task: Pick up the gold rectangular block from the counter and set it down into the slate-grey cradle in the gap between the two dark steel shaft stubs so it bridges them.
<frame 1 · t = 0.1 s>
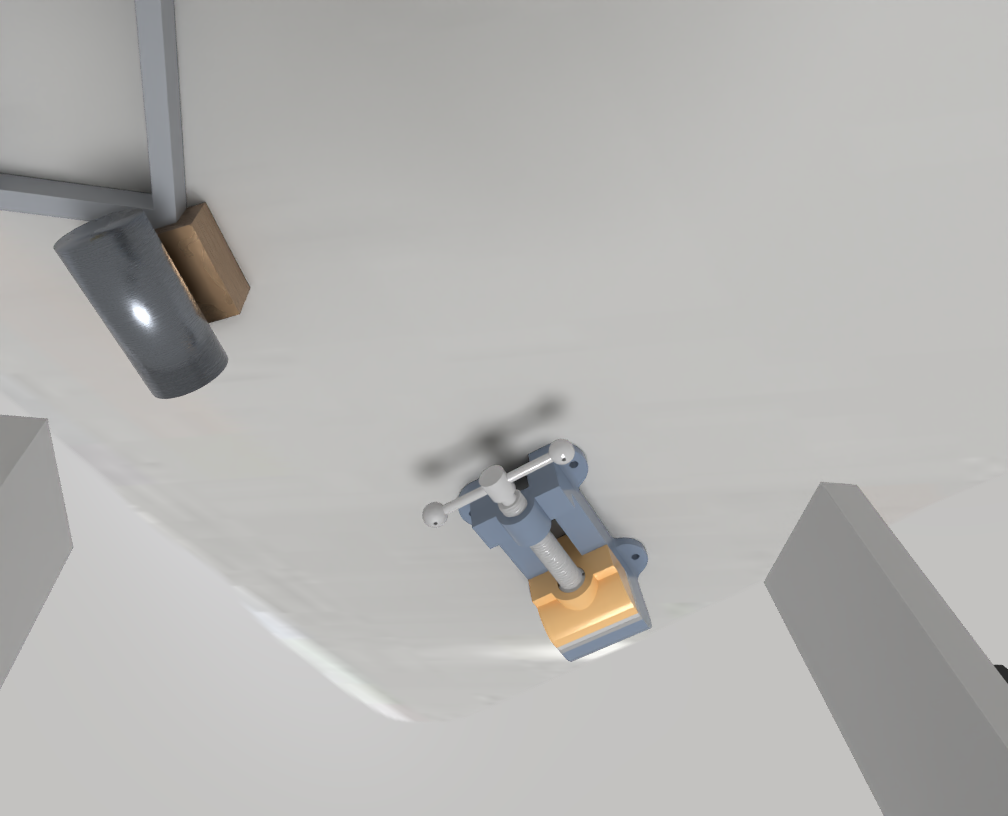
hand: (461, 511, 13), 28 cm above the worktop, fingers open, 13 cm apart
shaft b: (175, 262, 38), on the worktop
cradle: (68, 75, 33), on the worktop
vise: (546, 513, 52), on the worktop
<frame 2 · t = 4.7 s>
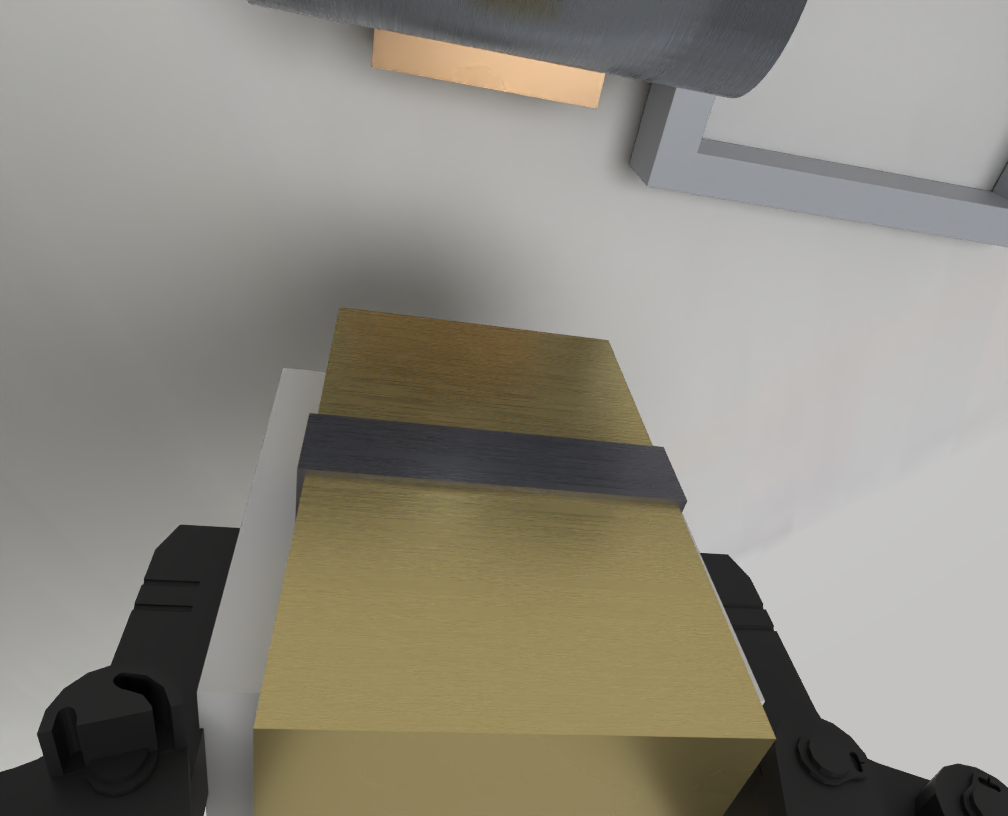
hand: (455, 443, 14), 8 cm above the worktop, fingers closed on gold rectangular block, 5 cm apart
cradle: (904, 16, 18), on the worktop
gold rectangular block: (458, 432, 15), point 8 cm above the worktop, touching gripper
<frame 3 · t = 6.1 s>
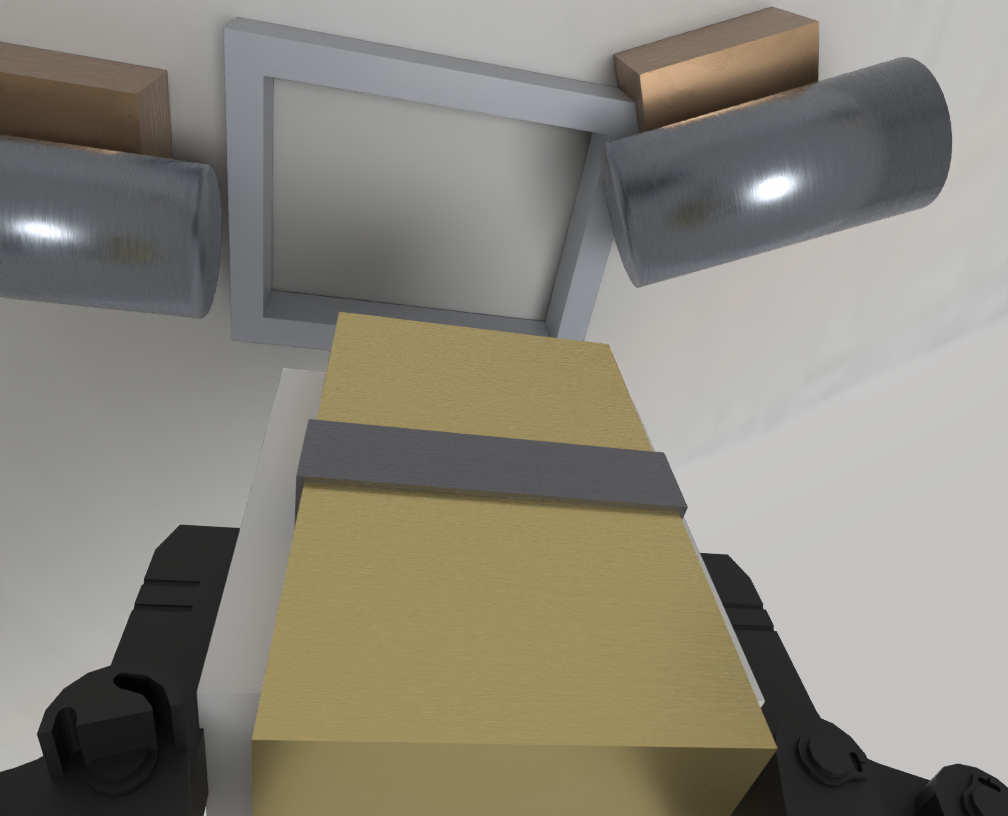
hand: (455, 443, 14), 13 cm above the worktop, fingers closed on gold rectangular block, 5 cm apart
shaft b: (701, 128, 24), on the worktop
cradle: (426, 207, 24), on the worktop
gold rectangular block: (457, 436, 15), point 12 cm above the worktop, touching gripper
shaft a: (87, 159, 22), on the worktop
when the fingers open (2 cm above the worktop, at t = 7.9 s): gold rectangular block drops 1 cm, resting in cradle.
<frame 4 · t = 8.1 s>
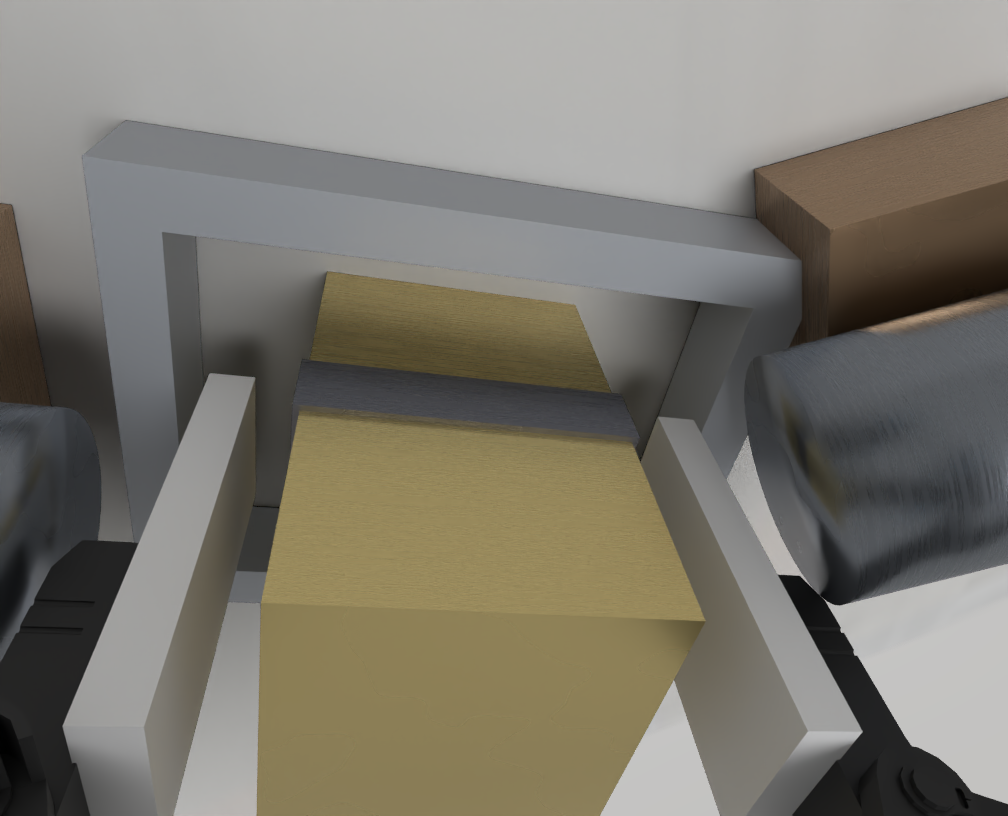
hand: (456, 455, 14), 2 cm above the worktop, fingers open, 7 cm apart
shaft b: (877, 274, 15), on the worktop
cradle: (445, 391, 16), on the worktop
gold rectangular block: (437, 391, 16), resting in cradle
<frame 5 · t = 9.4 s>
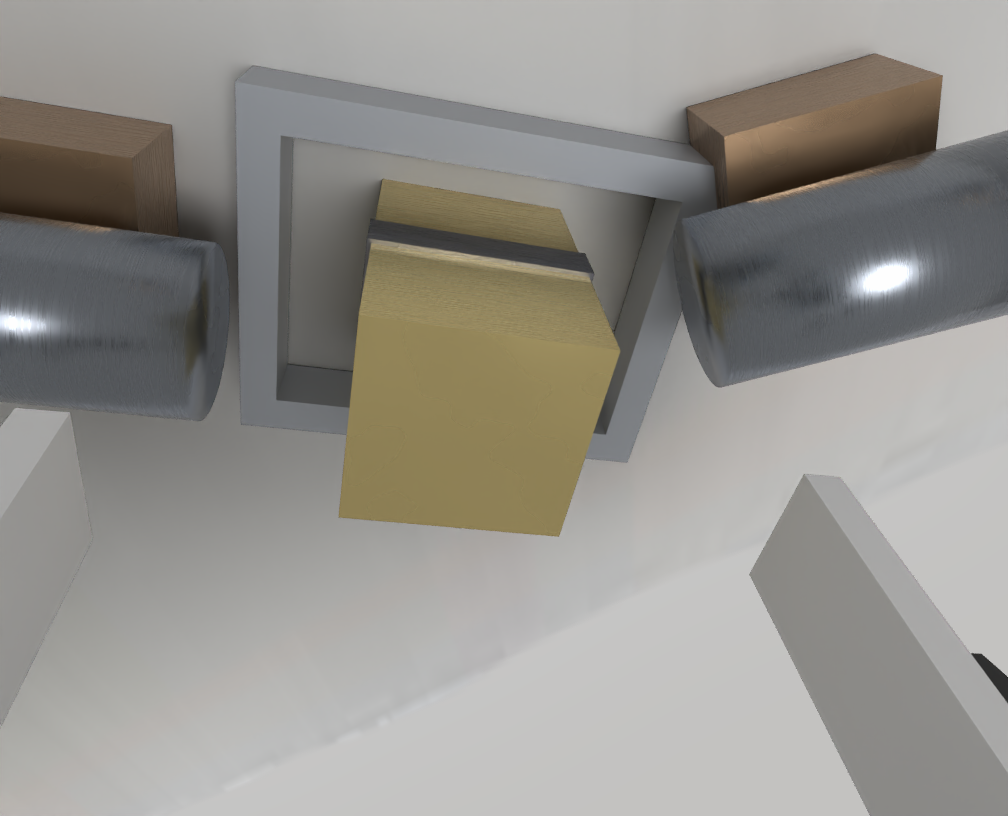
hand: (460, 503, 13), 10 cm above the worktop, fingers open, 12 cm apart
shaft b: (783, 190, 21), on the worktop
cradle: (464, 276, 21), on the worktop
gold rectangular block: (458, 276, 21), resting in cradle
shaft a: (81, 223, 20), on the worktop
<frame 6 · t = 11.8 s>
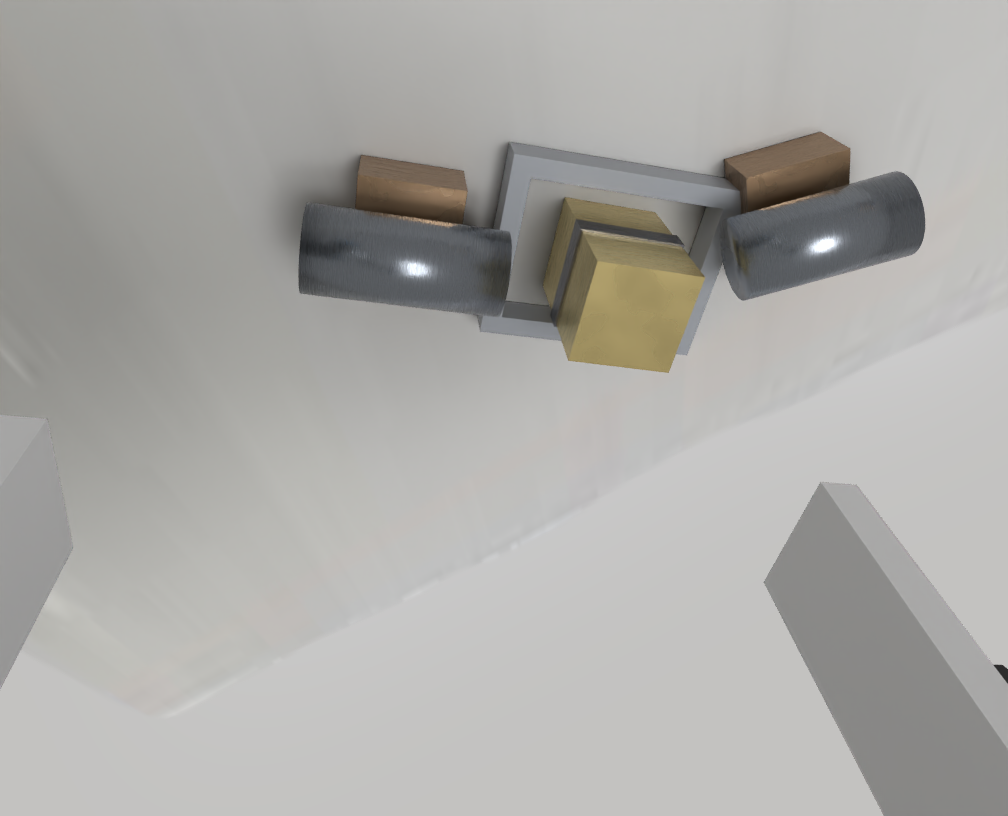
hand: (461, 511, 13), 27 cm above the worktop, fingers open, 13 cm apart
shaft b: (774, 201, 39), on the worktop
cradle: (601, 249, 39), on the worktop
gold rectangular block: (597, 249, 39), resting in cradle
shaft a: (406, 221, 37), on the worktop
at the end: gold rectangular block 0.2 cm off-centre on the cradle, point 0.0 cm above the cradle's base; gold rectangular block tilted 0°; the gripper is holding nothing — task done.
